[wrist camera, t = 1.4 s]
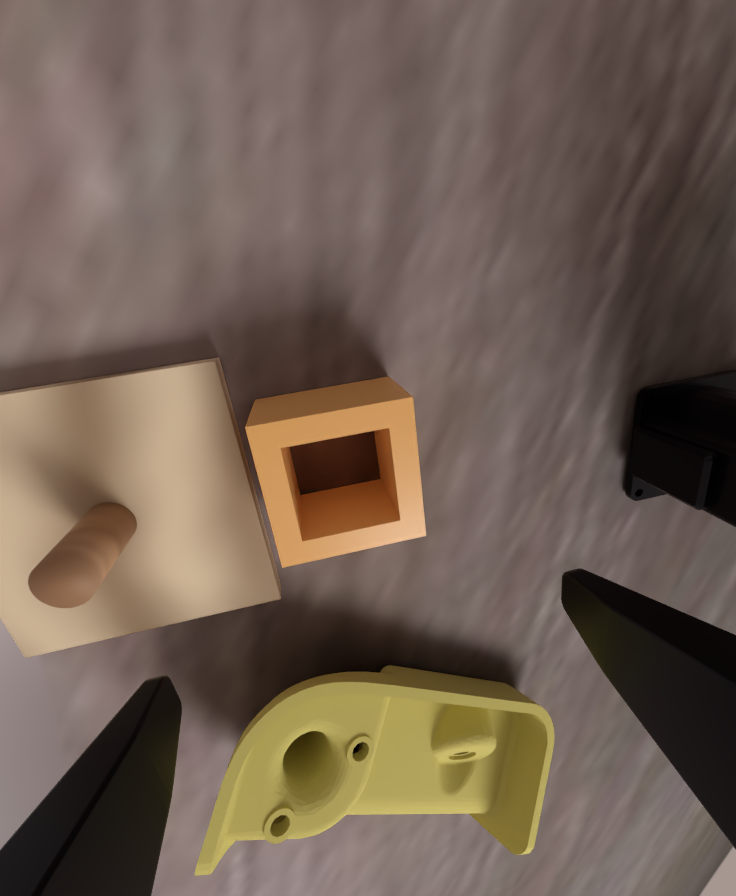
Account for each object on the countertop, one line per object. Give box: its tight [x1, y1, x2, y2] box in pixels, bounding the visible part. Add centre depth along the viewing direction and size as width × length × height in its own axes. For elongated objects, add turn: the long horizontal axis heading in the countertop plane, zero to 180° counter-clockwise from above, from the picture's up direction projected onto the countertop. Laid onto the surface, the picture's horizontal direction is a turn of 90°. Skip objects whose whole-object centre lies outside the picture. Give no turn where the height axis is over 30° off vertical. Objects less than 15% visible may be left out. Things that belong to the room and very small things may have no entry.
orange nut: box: [245, 376, 426, 568], centre depth 17 cm, size 6×6×4 cm
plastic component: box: [195, 665, 554, 876], centre depth 24 cm, size 20×7×10 cm
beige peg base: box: [0, 357, 281, 658], centre depth 16 cm, size 12×12×5 cm
